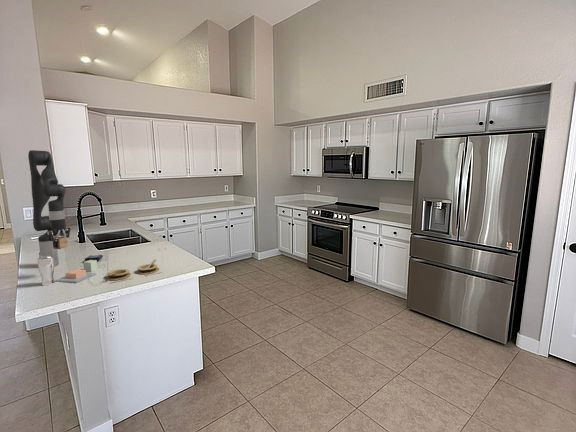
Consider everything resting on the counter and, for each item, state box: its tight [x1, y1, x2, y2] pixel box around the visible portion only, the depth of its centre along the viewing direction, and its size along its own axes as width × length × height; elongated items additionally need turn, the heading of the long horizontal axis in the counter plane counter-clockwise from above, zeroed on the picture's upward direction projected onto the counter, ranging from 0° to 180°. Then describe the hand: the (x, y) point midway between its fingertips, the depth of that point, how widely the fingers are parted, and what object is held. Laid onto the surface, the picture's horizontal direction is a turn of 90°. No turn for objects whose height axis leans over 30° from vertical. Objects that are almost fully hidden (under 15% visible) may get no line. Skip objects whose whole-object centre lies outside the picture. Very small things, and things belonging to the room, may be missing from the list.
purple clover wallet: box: [84, 254, 104, 262], centre depth 218 cm, size 9×3×11 cm
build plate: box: [55, 268, 97, 284], centre depth 182 cm, size 14×14×4 cm
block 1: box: [52, 236, 69, 250], centre depth 185 cm, size 5×5×6 cm
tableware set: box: [105, 259, 163, 284], centre depth 190 cm, size 30×20×6 cm, turn 128°
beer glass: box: [37, 256, 56, 287], centre depth 172 cm, size 7×7×15 cm
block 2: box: [83, 260, 99, 273], centre depth 196 cm, size 5×5×6 cm
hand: (60, 246), depth 185 cm, fingers closed on block 1, 5 cm apart
